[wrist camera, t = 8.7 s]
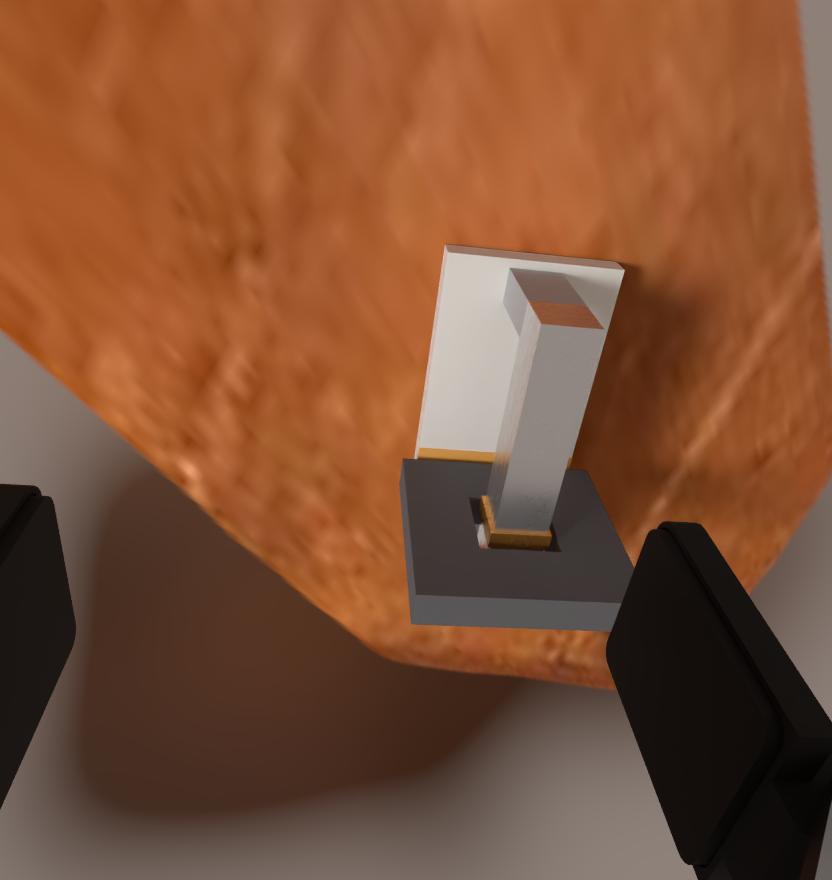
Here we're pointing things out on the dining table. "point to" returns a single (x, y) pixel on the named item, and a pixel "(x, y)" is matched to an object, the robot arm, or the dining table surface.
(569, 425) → the grey square bar
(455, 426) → the stand
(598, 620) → the collar
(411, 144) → the dining table surface
